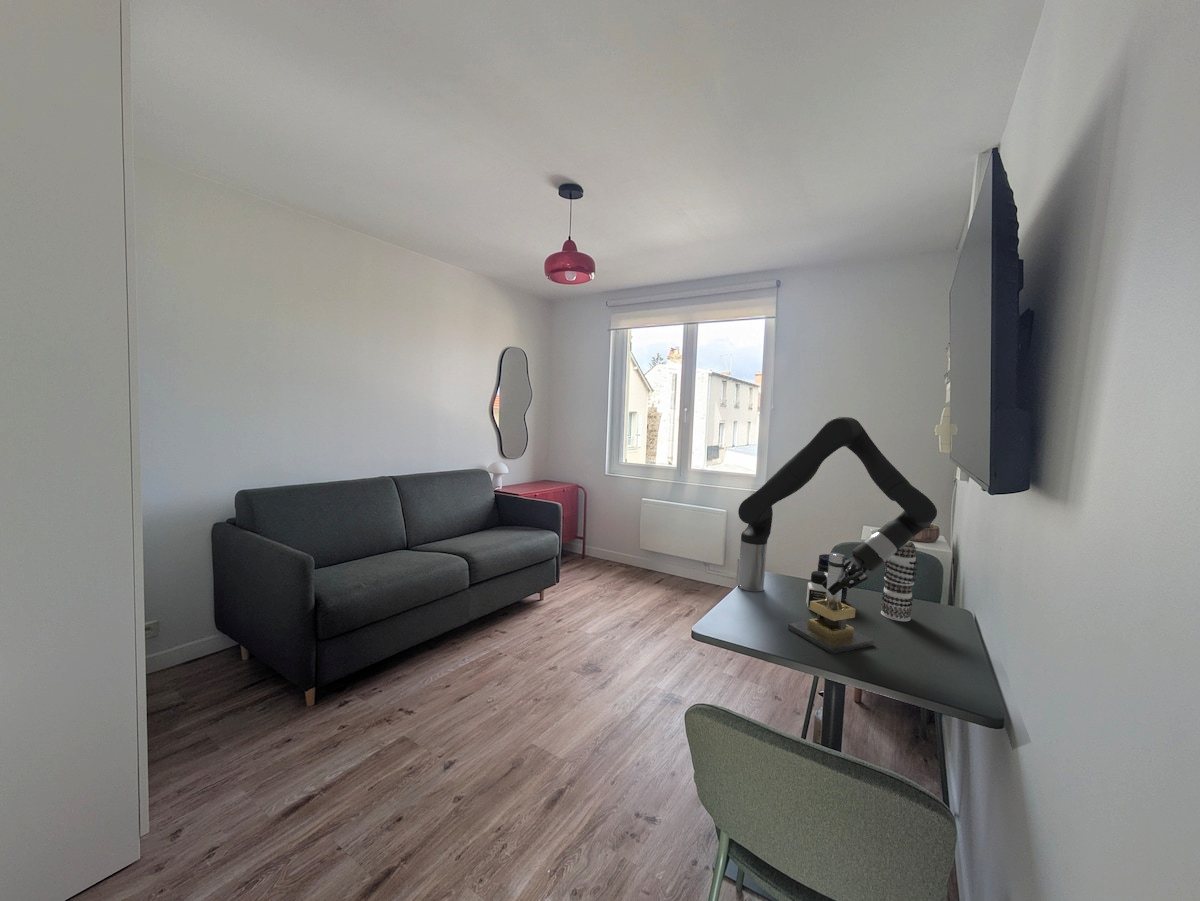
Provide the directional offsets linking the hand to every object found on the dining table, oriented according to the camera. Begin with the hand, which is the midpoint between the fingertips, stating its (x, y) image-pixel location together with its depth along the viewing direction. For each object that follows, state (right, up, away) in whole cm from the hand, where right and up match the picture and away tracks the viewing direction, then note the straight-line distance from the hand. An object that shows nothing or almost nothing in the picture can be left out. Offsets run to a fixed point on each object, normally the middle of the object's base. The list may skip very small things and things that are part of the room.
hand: (827, 589), depth 142 cm
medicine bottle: (+8, -13, +23) cm, 28 cm away
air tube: (+1, -10, +1) cm, 10 cm away
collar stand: (+1, -14, +1) cm, 14 cm away
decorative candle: (+31, -14, +19) cm, 40 cm away
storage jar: (+15, -13, +31) cm, 37 cm away
